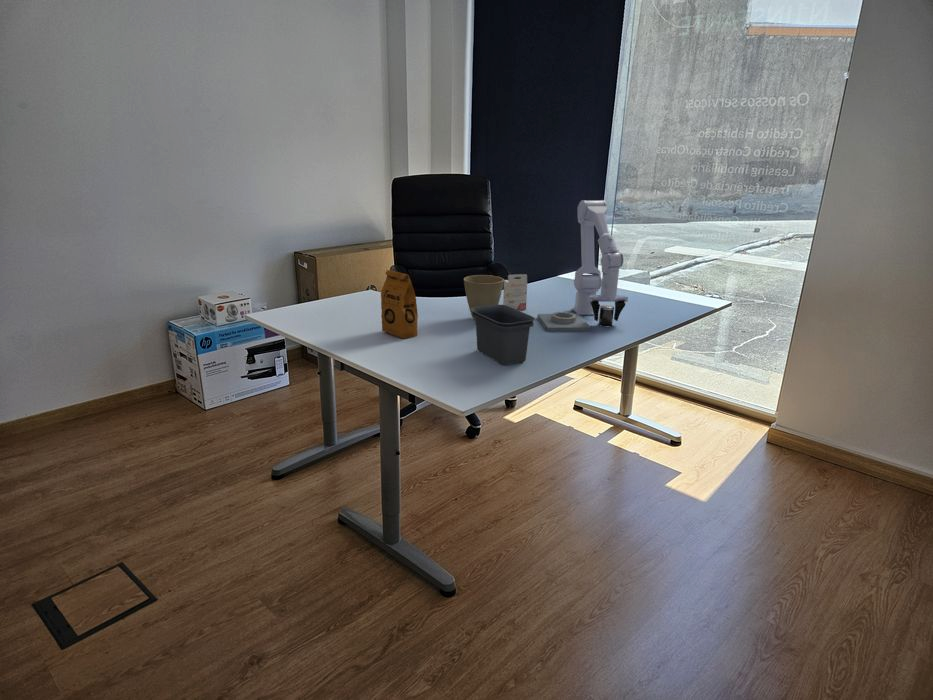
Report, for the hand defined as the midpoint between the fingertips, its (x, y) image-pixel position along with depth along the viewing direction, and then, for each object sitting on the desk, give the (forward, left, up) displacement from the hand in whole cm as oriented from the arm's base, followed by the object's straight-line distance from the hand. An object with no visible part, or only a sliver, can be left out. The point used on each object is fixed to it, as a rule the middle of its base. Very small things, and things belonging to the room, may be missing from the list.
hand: (605, 320), depth 226 cm
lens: (0, 0, -2) cm, 2 cm away
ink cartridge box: (-23, -31, -2) cm, 39 cm away
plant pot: (-7, -46, -2) cm, 47 cm away
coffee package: (+10, -77, -2) cm, 78 cm away
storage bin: (+33, -44, -2) cm, 55 cm away
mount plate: (-1, -16, -2) cm, 16 cm away
